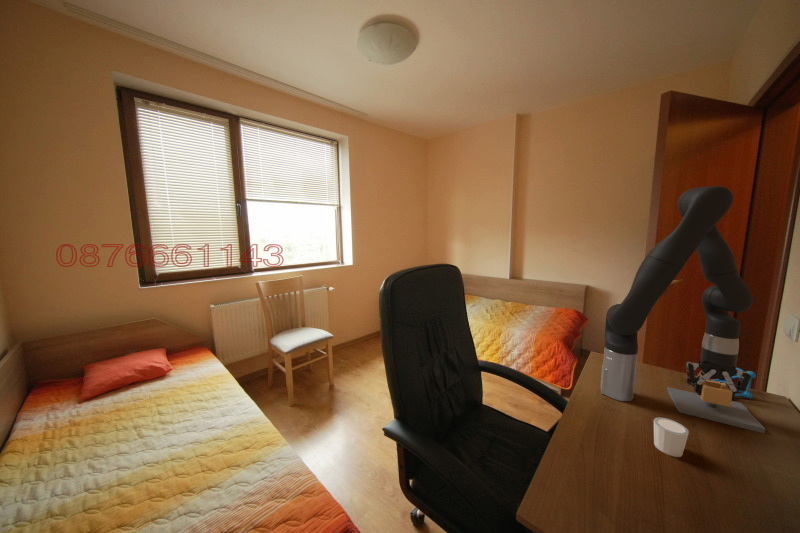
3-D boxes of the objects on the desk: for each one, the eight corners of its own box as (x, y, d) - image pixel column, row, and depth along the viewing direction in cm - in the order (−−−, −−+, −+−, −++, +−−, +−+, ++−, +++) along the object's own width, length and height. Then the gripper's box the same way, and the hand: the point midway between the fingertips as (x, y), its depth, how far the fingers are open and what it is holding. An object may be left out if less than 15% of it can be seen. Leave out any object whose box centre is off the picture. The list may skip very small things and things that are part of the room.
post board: (678, 412, 89) (679, 408, 89) (667, 390, 101) (667, 387, 101) (764, 433, 80) (765, 428, 79) (740, 407, 91) (741, 403, 91)
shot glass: (676, 442, 77) (679, 419, 76) (692, 461, 71) (695, 437, 70) (646, 436, 79) (648, 414, 78) (659, 455, 73) (662, 431, 72)
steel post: (706, 406, 90) (709, 390, 89) (704, 402, 92) (706, 387, 91) (717, 408, 88) (719, 393, 88) (714, 404, 90) (716, 389, 90)
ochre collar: (702, 400, 89) (704, 386, 88) (696, 391, 94) (698, 378, 93) (730, 407, 85) (732, 392, 85) (722, 397, 90) (724, 383, 90)
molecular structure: (694, 383, 105) (698, 359, 104) (721, 384, 105) (725, 359, 104) (724, 399, 95) (728, 373, 94) (754, 400, 95) (758, 373, 94)
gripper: (691, 347, 88) (685, 396, 90) (760, 358, 80) (752, 410, 82) (684, 339, 94) (679, 385, 96) (748, 348, 86) (740, 398, 89)
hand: (713, 396), depth 89 cm, fingers closed on ochre collar, 6 cm apart
